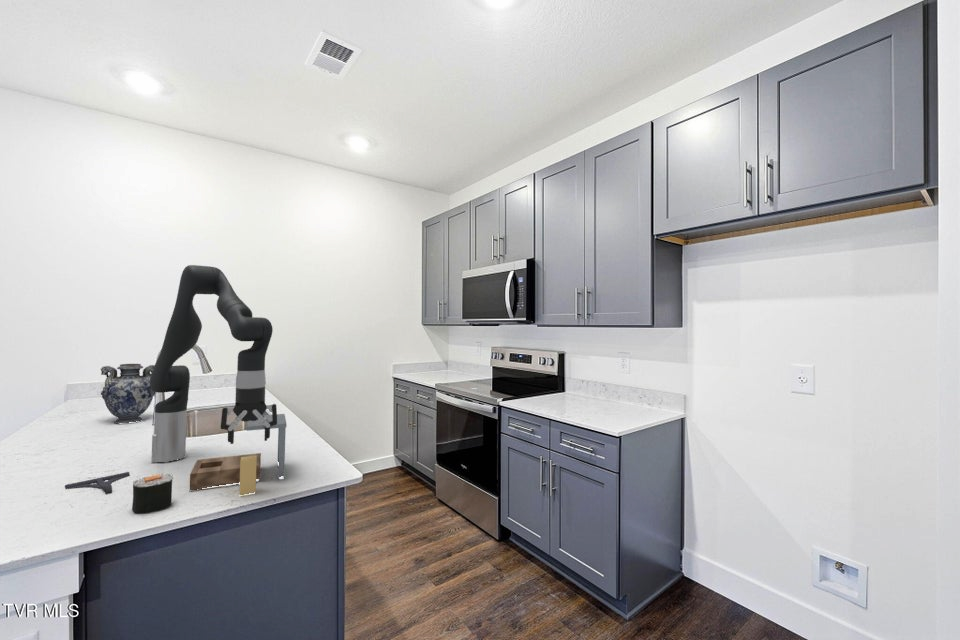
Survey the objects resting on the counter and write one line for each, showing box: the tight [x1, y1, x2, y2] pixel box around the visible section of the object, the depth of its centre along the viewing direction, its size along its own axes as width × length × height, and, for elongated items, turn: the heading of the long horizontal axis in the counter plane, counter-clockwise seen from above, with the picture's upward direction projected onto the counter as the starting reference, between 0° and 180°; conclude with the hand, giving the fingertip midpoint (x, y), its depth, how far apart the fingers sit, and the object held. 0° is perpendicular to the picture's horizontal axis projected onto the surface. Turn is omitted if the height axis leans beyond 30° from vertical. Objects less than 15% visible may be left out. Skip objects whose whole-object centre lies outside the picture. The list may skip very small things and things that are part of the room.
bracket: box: [64, 471, 131, 495], centre depth 121 cm, size 14×15×3 cm
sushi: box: [131, 473, 174, 515], centre depth 109 cm, size 8×8×8 cm
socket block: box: [189, 452, 262, 491], centre depth 130 cm, size 18×14×5 cm
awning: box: [246, 413, 287, 477], centre depth 135 cm, size 11×16×18 cm
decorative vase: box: [100, 363, 156, 424], centre depth 201 cm, size 21×19×28 cm
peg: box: [238, 455, 257, 496], centre depth 119 cm, size 4×4×10 cm
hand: (249, 441), depth 119 cm, fingers open, 8 cm apart
